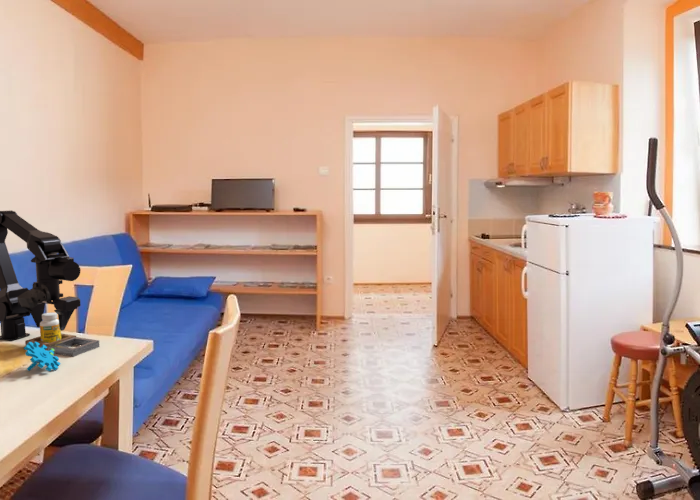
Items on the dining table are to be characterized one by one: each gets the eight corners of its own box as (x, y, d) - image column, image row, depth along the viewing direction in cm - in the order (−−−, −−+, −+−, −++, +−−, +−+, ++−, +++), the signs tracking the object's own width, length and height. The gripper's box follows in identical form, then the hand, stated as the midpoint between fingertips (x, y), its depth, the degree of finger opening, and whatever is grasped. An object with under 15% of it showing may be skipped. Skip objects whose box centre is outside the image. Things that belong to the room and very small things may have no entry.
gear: (49, 371, 125) (20, 343, 125) (32, 388, 125) (2, 360, 124) (70, 361, 136) (43, 336, 136) (54, 377, 136) (27, 351, 135)
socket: (48, 352, 143) (47, 345, 143) (75, 343, 152) (75, 336, 152) (73, 356, 141) (72, 349, 140) (99, 346, 149) (99, 340, 149)
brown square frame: (25, 347, 147) (25, 340, 147) (53, 338, 156) (53, 332, 156) (49, 351, 145) (49, 344, 144) (76, 341, 153) (76, 335, 153)
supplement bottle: (60, 340, 154) (58, 310, 153) (62, 345, 150) (61, 314, 149) (40, 343, 151) (38, 313, 150) (41, 348, 147) (39, 317, 146)
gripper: (-2, 280, 143) (2, 332, 145) (47, 285, 137) (50, 339, 139) (33, 273, 154) (36, 322, 156) (80, 278, 148) (83, 329, 150)
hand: (50, 328), depth 150 cm, fingers open, 9 cm apart
